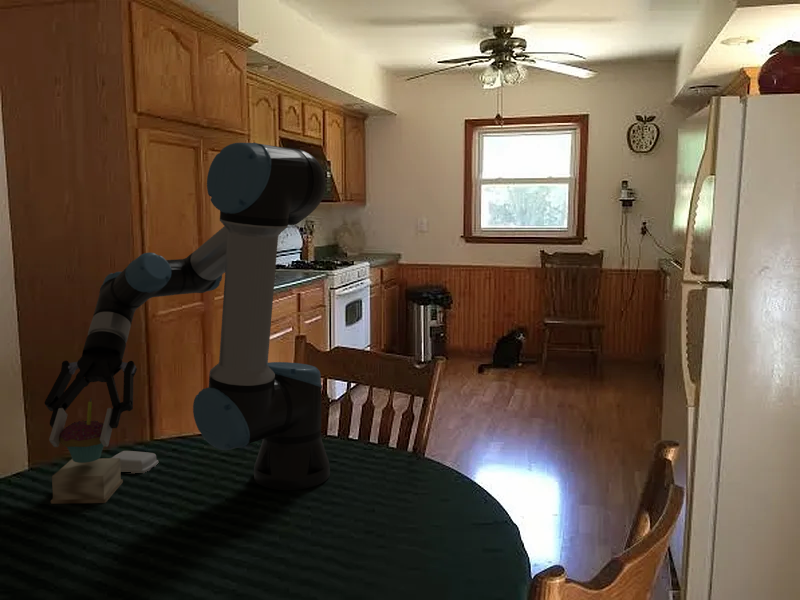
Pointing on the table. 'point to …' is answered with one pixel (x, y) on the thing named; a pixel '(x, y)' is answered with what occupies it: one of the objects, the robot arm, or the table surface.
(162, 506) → the table surface
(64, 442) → the cupcake
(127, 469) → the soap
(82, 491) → the pedestal
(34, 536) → the table surface
